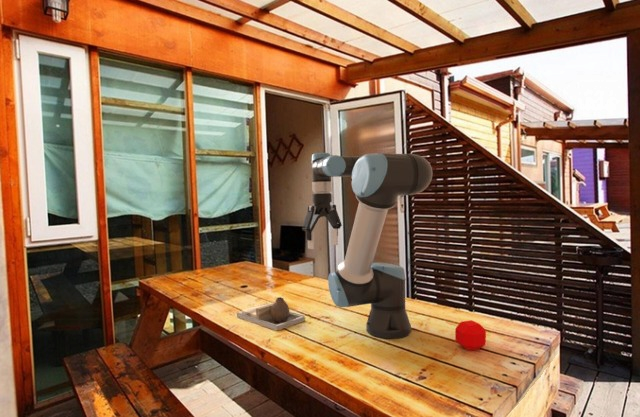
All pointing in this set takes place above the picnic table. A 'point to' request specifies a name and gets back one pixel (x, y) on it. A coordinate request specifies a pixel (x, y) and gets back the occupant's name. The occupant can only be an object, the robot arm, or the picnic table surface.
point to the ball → (470, 335)
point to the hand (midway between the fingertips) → (323, 246)
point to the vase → (280, 310)
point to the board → (271, 323)
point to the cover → (259, 311)
